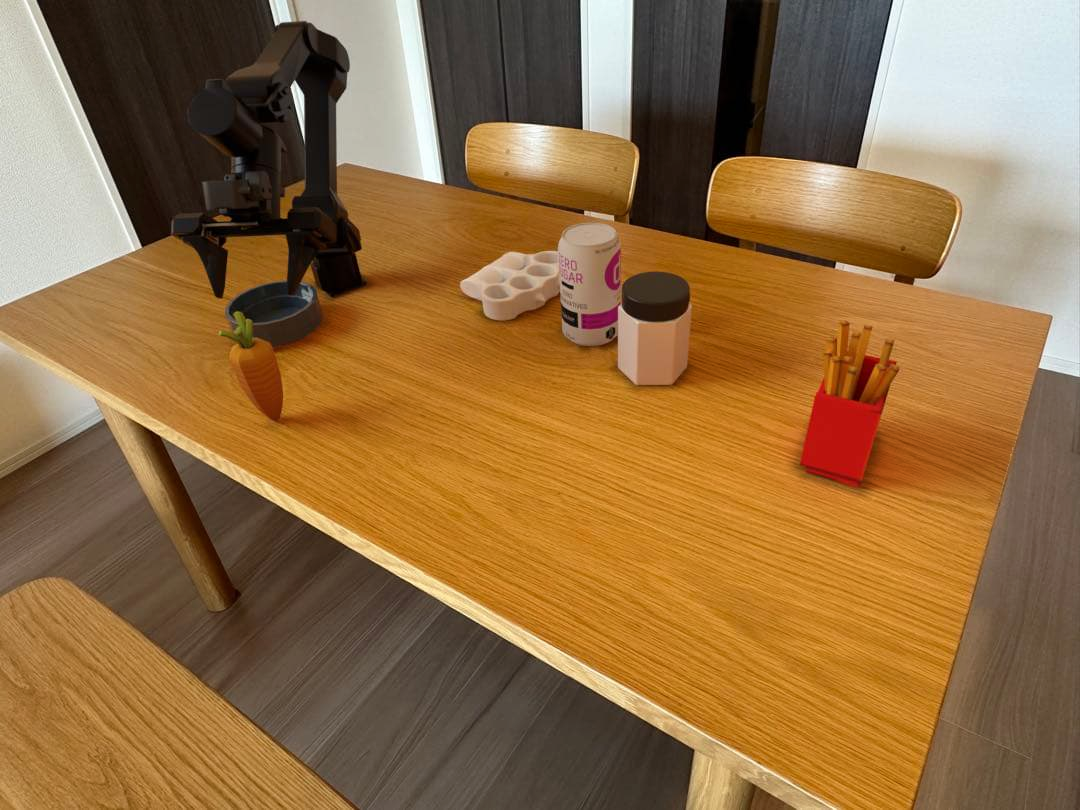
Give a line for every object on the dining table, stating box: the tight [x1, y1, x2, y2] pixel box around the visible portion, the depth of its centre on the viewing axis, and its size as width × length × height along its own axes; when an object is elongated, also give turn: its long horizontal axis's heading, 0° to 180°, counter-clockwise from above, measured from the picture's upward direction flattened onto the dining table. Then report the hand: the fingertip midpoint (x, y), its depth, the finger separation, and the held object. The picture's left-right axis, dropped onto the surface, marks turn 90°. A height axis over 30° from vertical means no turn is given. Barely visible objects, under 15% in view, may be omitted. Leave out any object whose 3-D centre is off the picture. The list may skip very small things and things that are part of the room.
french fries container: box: [799, 320, 901, 489], centre depth 72 cm, size 7×9×14 cm
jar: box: [617, 270, 693, 386], centre depth 87 cm, size 9×8×12 cm
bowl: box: [224, 279, 325, 348], centre depth 104 cm, size 13×13×4 cm
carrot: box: [218, 312, 284, 422], centre depth 82 cm, size 5×5×15 cm
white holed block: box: [459, 250, 560, 322], centre depth 108 cm, size 3×18×15 cm
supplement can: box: [557, 222, 622, 347], centre depth 94 cm, size 8×8×15 cm
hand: (254, 296), depth 85 cm, fingers open, 9 cm apart
